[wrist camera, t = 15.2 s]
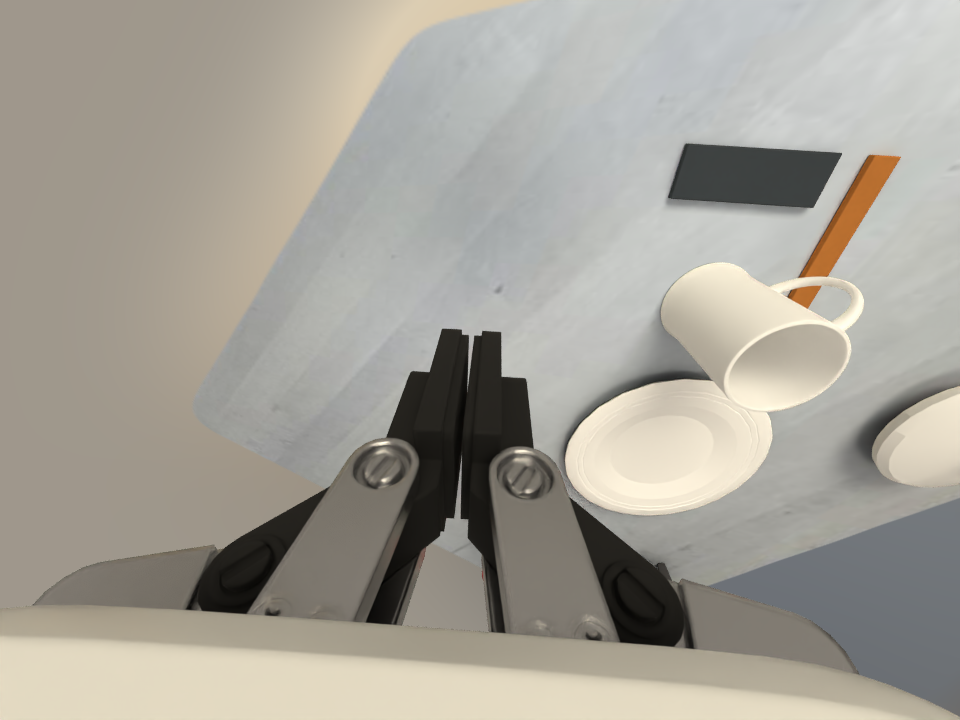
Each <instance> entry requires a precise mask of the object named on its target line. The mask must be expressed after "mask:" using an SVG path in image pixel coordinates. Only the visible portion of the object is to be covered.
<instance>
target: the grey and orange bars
mask: <svg viewBox="0 0 960 720" xmlns="http://www.w3.org/2000/svg"><path fill="white" fill-rule="evenodd" d="M841 155H842V153H831V152H815V151H798V150H782V149H766V148H750V147H733V146H717V145H701V144H685V147H684V150H683V154H682V157H681V160H680V163H679V166H678V169H677V172H676V176H675V179H674V182H673V185H672V188H671V191H670V194H669V198H671V199H684V200H700V201H715V202H730V203H746V204H761V205H776V206H792V207H807V208H813V207H814V206H815V204H816V202H817V200H818V198H819V196H820V194H821V192H822V191H823V189H824V187H825V185H826V183H827V181H828V179H829V177H830V176H831V174H832V172H833V170H834V168H835V166H836V164H837V163H838V161H839V159H840V157H841ZM900 158H901V157H896V156H880V155H869V156H868V158H867V160H866V162H865V163H864V165H863V167H862V169H861V170H860V172H859V174H858V176H857V177H856V179H855V181H854V183H853V184H852V186H851V188H850V190H849V191H848V193H847V195H846V197H845V198H844V200H843V202H842V204H841V205H840V207H839V209H838V211H837V212H836V214H835V216H834V217H833V219H832V221H831V223H830V224H829V226H828V228H827V230H826V231H825V233H824V235H823V237H822V238H821V240H820V242H819V244H818V245H817V247H816V249H815V251H814V252H813V254H812V256H811V258H810V259H809V261H808V263H807V265H806V266H805V268H804V270H803V272H802V273H801V275H800V277H799V278H804V277H827V276H828V275H829V273H830V272H831V270H832V268H833V267H834V265H835V263H836V262H837V260H838V259H839V257H840V255H841V254H842V252H843V251H844V249H845V247H846V246H847V244H848V242H849V241H850V239H851V238H852V236H853V234H854V233H855V231H856V229H857V228H858V226H859V225H860V223H861V221H862V220H863V218H864V216H865V215H866V213H867V212H868V210H869V208H870V207H871V205H872V204H873V202H874V200H875V199H876V197H877V195H878V194H879V192H880V191H881V189H882V187H883V186H884V184H885V182H886V181H887V179H888V178H889V176H890V174H891V173H892V171H893V169H894V168H895V166H896V165H897V163H898V161H899V160H900ZM820 288H821V286H807V287H801V288H796V289H792V291H791V293H790V294H789V296H788V298H789V299H791V300H793V301H794V302H796V303H798V304H800V305H801V306H803V307H805V308H807V309H808V307H809V306H810V304H811V302H812V301H813V299H814V298H815V296H816V294H817V293H818V291H819V289H820Z"/></svg>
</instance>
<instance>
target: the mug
mask: <svg viewBox="0 0 960 720" xmlns="http://www.w3.org/2000/svg"><path fill="white" fill-rule="evenodd" d="M807 286H831V287H836V288H840V289H842V290H845V291H846V292H848V293H849V294H850V296H851V304H850V306H849V307H848V309H847V310H846V311H845V312H844V313H843V314H842V315H841V316H839V317H838V318H836V319H835V320H833V321H831V322H830V321H828V320H826V319H824V318H823V317H821V316H819V315H817V314H816V313H814V312H812V311H810V310H808V309H807V308H805V307H803V306H801V305H800V304H798V303H796V302H794V301H793V300H791V299H789V298H787V297H785V296H784V295H782V294H780V293H783V292H785V291H788V290H792V289H796V288H801V287H807ZM863 307H864V299H863V296H862V294H861V292H860V291H859V290H858V288H857V287H855V286H854V285H853V284H851V283H849V282H847V281H845V280H842V279H838V278H832V277H804V278H797V279H792V280H788V281H784V282H781V283H777V284H774V285H771V286H766V285H764V284H762V283H761V282H759V281H757V280H755V279H754V278H752V277H750V276H749V274H748V273H747V272H746V271H745V270H743V269H742V268H740V267H738V266H736V265H733V264H730V263H711V264H706V265H703V266H700V267H697V268H695V269H693V270H691V271H689V272H688V273H686V274H685V275H683V276H682V277H681V278H680V279H678V280H677V281H676V282H675V283H674V284H673V285H672V287H671V288H670V289H669V291H668V292H667V294H666V296H665V298H664V300H663V303H662V306H661V320H662V324H663V326H664V328H665V329H666V331H667V332H668V333H669V334H670V335H672V336H673V337H675V338H676V339H677V340H678V341H679V342H680V343H681V344H682V345H683V346H684V348H685V349H686V350H687V351H688V352H689V353H690V355H691V356H692V357H693V358H694V359H695V360H696V362H697V363H698V364H699V365H700V366H701V367H702V369H703V370H704V371H705V372H706V373H707V374H708V376H709V377H710V378H711V379H712V380H713V381H714V383H715V384H716V385H717V386H718V387H719V388H720V390H721V391H722V392H723V393H724V394H725V395H726V397H727V398H728V399H729V400H730V401H731V402H732V403H733V404H735V405H736V406H738V407H740V408H742V409H745V410H749V411H754V412H773V411H780V410H784V409H788V408H792V407H795V406H797V405H800V404H802V403H804V402H807V401H809V400H811V399H812V398H814V397H816V396H817V395H819V394H820V393H822V392H823V391H825V390H826V389H827V388H828V387H830V386H831V385H832V384H833V383H834V382H835V381H836V380H837V379H838V378H839V376H840V375H841V374H842V372H843V371H844V369H845V368H846V366H847V364H848V361H849V358H850V354H851V344H850V340H849V338H848V336H847V334H846V333H845V331H846V330H847V329H848V328H850V327H851V326H852V325H853V324H854V323H855V322H856V321H857V319H858V318H859V317H860V315H861V313H862V311H863Z"/></svg>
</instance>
